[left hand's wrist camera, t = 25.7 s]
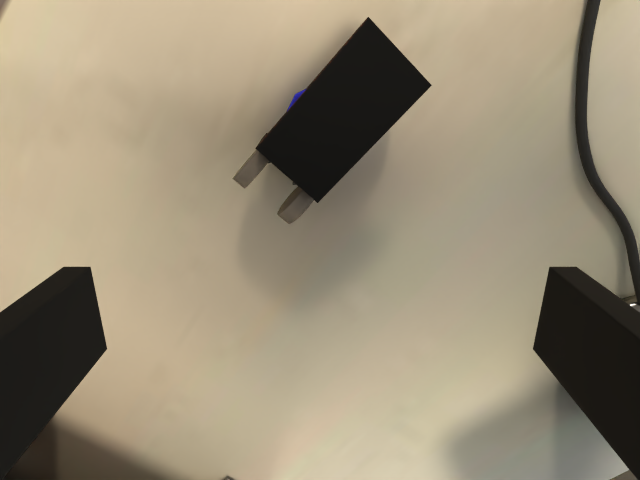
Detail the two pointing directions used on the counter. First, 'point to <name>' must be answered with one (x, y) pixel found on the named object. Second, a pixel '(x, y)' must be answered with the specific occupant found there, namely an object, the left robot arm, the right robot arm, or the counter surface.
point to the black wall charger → (337, 118)
